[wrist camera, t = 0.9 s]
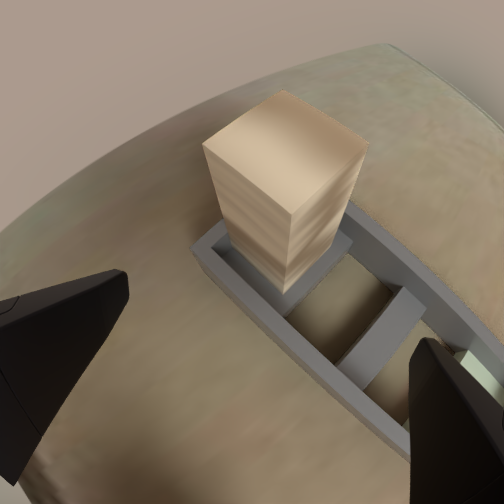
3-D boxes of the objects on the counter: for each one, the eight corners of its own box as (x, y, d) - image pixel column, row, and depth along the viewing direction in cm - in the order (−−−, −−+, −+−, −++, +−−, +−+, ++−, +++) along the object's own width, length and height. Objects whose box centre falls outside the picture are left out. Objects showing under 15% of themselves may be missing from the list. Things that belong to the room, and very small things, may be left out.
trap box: (440, 487, 16) (467, 502, 12) (203, 270, 24) (189, 247, 20) (506, 392, 18) (538, 389, 14) (291, 191, 27) (294, 158, 22)
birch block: (282, 295, 21) (291, 214, 11) (232, 247, 23) (201, 143, 13) (330, 246, 22) (369, 142, 12) (280, 204, 24) (282, 89, 14)
